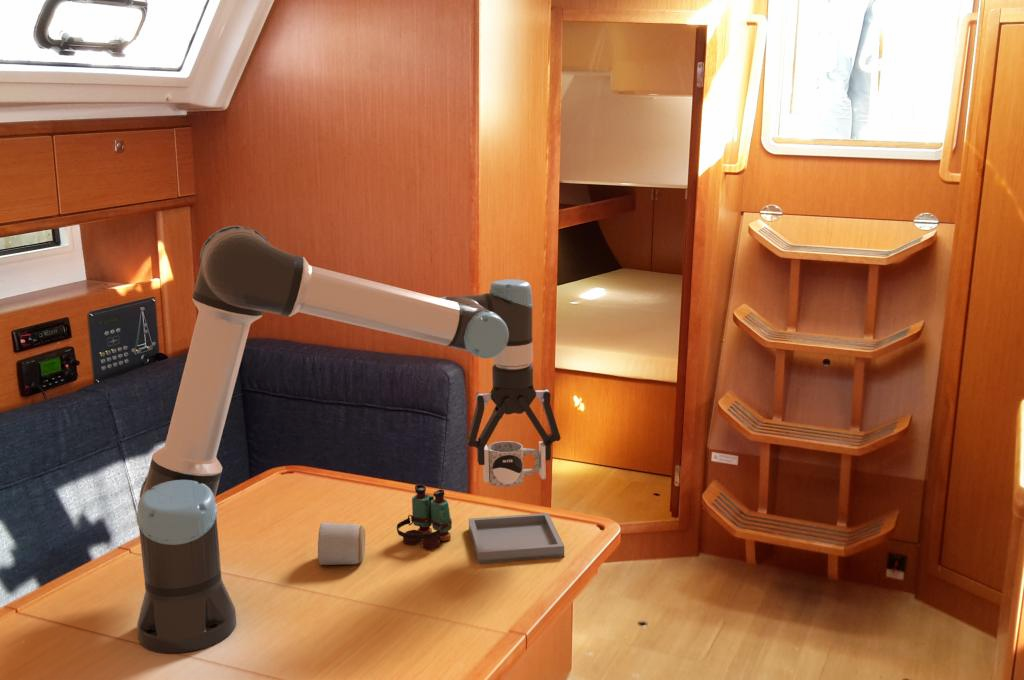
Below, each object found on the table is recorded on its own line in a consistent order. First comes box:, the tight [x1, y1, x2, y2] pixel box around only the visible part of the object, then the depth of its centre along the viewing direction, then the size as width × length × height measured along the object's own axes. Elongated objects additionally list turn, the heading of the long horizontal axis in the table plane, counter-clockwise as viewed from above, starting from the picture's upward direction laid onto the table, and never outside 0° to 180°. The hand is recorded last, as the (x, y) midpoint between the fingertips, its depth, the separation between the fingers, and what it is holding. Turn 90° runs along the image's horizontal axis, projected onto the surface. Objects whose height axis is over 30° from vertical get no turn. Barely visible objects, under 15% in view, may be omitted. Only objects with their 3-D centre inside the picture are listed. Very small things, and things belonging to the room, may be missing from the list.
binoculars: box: [396, 483, 453, 551], centre depth 197 cm, size 9×11×10 cm
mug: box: [487, 440, 540, 488], centre depth 194 cm, size 10×7×7 cm
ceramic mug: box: [317, 522, 366, 566], centre depth 191 cm, size 11×8×8 cm
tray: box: [468, 512, 565, 565], centre depth 197 cm, size 16×16×2 cm
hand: (514, 478), depth 194 cm, fingers closed on mug, 10 cm apart
